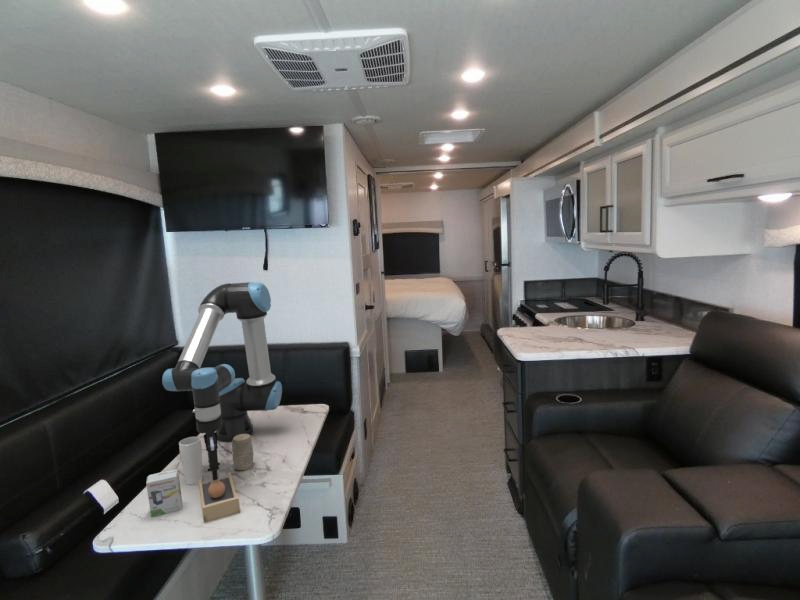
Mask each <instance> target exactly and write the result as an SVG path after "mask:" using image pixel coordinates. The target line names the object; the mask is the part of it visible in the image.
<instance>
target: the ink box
mask: <svg viewBox="0 0 800 600" xmlns="http://www.w3.org/2000/svg"><path fill="white" fill-rule="evenodd" d="M145 483H146V491H147V497H148V504H149V510H150V517H151V518H153V517H157V516H161V515H165V514H168V513H173V512H178V511H181V510H183V498H182V497H183V496H182V489H181V484H180V483H181V481H180V474H179V469H171V470H167V471H162V472H161V471H160V472H157V473H153V474H149V475H148V476H147V477H146V482H145Z"/></svg>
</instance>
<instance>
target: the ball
mask: <svg viewBox="0 0 800 600" xmlns="http://www.w3.org/2000/svg"><path fill="white" fill-rule="evenodd" d="M224 492H225V485H224V483H222V482H221V481H215V482H213V483H212V484H211V485H210V486H209V489H208V493H209V495H210V496H211V497H213V498H218V497H221V496H222V495H223V494H224Z"/></svg>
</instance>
